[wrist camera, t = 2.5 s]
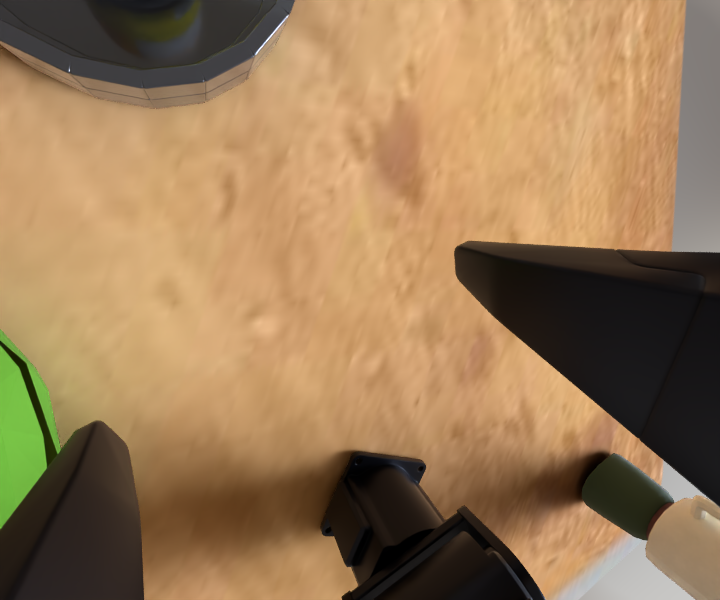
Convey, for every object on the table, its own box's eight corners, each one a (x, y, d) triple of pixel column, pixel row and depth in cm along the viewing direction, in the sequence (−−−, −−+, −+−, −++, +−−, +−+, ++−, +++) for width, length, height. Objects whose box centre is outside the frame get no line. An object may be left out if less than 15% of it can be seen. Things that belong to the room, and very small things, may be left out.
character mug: (617, 497, 41) (776, 614, 30) (571, 527, 39) (724, 666, 28) (624, 421, 38) (809, 521, 26) (574, 449, 35) (752, 572, 24)
